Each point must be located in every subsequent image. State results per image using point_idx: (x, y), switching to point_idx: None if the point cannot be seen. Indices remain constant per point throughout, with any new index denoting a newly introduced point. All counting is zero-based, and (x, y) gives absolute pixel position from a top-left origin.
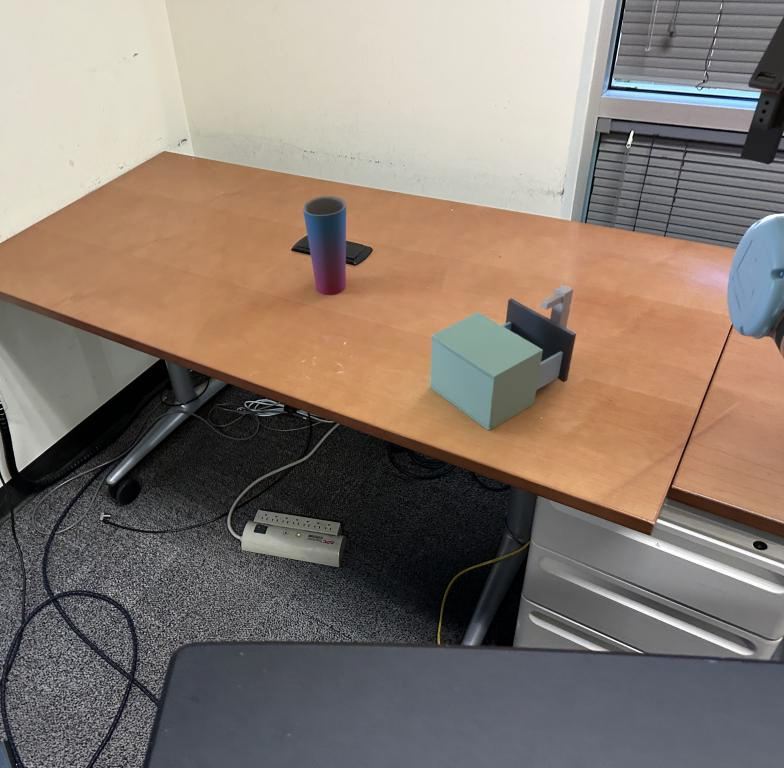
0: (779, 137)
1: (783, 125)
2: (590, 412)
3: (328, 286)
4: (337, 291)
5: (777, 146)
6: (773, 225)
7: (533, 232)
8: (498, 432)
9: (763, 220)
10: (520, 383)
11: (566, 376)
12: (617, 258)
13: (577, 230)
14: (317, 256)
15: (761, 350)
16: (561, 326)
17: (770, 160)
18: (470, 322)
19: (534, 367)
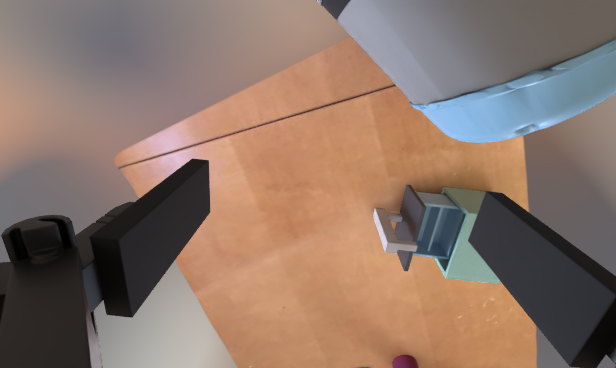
0: (529, 219)
1: (555, 235)
2: (426, 151)
3: (417, 365)
4: (409, 357)
5: (511, 207)
6: (604, 98)
7: (232, 309)
8: (489, 186)
9: (551, 124)
10: (479, 203)
11: (410, 186)
12: (218, 245)
13: (203, 288)
14: None
15: (257, 95)
16: (419, 220)
17: (502, 196)
18: (464, 273)
19: (469, 206)
